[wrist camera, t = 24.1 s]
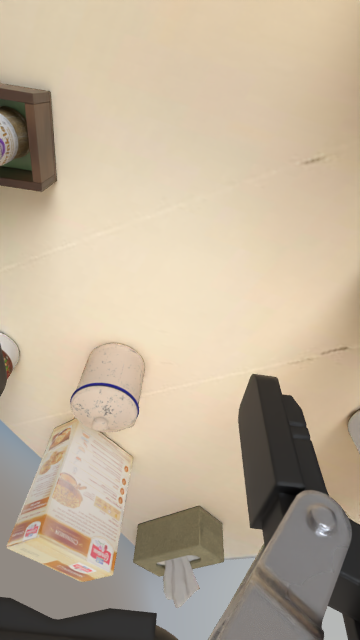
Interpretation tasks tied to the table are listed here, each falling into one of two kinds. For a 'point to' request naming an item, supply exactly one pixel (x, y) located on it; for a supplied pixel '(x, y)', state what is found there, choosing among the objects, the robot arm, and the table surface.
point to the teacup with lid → (109, 389)
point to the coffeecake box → (75, 504)
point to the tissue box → (179, 549)
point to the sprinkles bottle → (12, 135)
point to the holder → (31, 139)
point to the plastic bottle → (355, 429)
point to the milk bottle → (9, 353)
